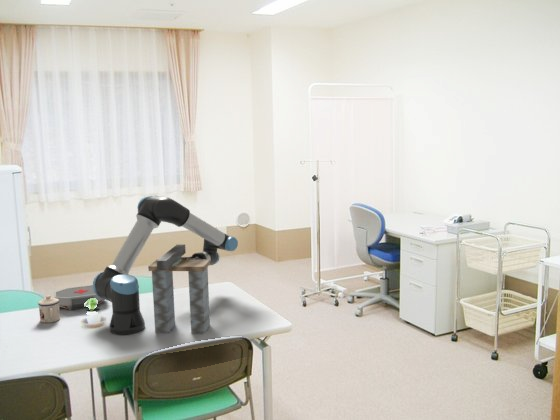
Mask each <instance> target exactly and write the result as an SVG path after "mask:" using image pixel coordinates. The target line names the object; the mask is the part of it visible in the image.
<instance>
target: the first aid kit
mask: <svg viewBox="0 0 560 420" xmlns="http://www.w3.org/2000/svg"><path fill="white" fill-rule="evenodd" d="M54 298H57V299H58V300H59V308H62V309H66V310H68V309H72V310H77V309H81V308H83V307H84V303H85V302H86V301H87V300H88V299H90V298H96V299H97V300H98V305H100V304H101V303H102V302H104V301H106V300H105V299H102V298H100V297H99V296H98V295H96V294H95V292H94V290H93V284H89V285H83V286H82V285H81V286H73V287H67V288H63V289H60V290H57V291H54ZM76 308H77V309H76ZM84 308H85V307H84Z"/></svg>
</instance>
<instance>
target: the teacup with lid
mask: <svg viewBox="0 0 560 420" xmlns="http://www.w3.org/2000/svg"><path fill="white" fill-rule="evenodd" d="M37 304H38V309H39V310H38V311H39V321H40V322H41V323H43V324H48V323H49V322H51V323H54V322H58V321H59V320H60V318H61V312H60V306H59V300H58V299H57V298H55V297H51V295H49V294H48V295H46V296H45V298H43V299H41V300H39V301H38V302H37ZM49 324H50V323H49Z"/></svg>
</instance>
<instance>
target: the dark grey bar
mask: <svg viewBox="0 0 560 420" xmlns="http://www.w3.org/2000/svg"><path fill="white" fill-rule="evenodd" d="M185 254H186V244H176V245H174V246H173V247H172V248H171V249H170V250H168V251H167V252H166V253H164V254H163V255H162V256H160V257H159V258H158V260H157V259H156V260H157V270H167V269H168V268H170V267H171V266H172V265H173V264H174V263H175V262H176V261H177V260H178V259H179V258H181V257H184V255H185Z"/></svg>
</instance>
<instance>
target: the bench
mask: <svg viewBox="0 0 560 420" xmlns="http://www.w3.org/2000/svg"><path fill="white" fill-rule="evenodd" d="M158 259H159V258H158ZM158 259H156V260H155V261H153V262H152V263H151V264H150V265H148V272H151V280H152V281H151V282H152V283H151V284H152V298H153V314H154V315H153V317H154V330H155V331H154V333H156V334H157V333H160V334H161V333H163V334H168V333H170V332H171V330H172V329H173V328H174V327H175V326H176V318H175V317H176V315H175V312H176V311H175V298H174V297H175V295H174V275H173V274H174V273H173V272H188V291H189V292H188V293H189V296H188V297H189V314H190V315H189V316H190V333H191V334H206V332H207V330H208V329H209V327H210V326H211V325H210V324H211V319H210V299H209V298H210V297H209V294H210V293H209V273H208V272H209V270H208V268H209V266H211V265H210V260H185V259H178V260H177V261H176V262H175V263H174V264H173V265H172V266H171V267H170V268H168V269H167V270H157V260H158Z"/></svg>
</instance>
